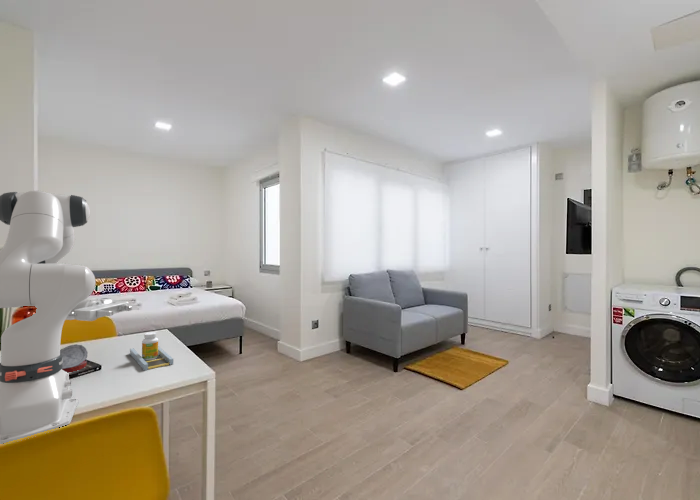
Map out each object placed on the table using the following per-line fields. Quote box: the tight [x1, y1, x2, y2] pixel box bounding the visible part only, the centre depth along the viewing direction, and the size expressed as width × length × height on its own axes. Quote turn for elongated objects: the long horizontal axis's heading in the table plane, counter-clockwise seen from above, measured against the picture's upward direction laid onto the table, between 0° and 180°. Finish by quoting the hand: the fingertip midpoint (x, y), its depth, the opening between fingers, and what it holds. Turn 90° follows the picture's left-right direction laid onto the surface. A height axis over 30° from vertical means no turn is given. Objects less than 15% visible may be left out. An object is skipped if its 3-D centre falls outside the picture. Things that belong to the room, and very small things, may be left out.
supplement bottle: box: [141, 331, 159, 361], centre depth 127 cm, size 5×5×10 cm
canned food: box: [60, 344, 89, 372], centre depth 113 cm, size 11×10×10 cm
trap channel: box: [129, 345, 174, 371], centre depth 127 cm, size 24×9×2 cm, turn 44°
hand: (121, 310), depth 129 cm, fingers open, 8 cm apart
